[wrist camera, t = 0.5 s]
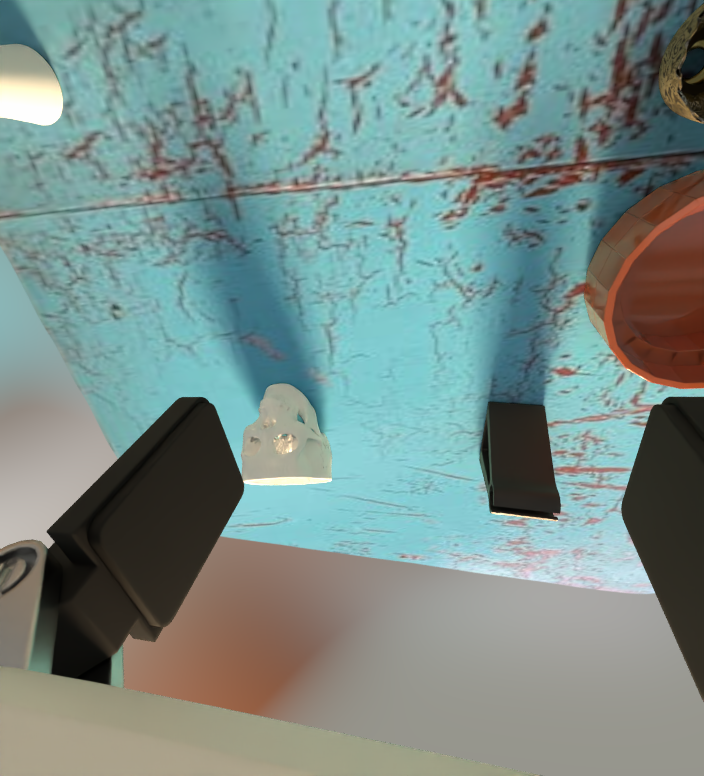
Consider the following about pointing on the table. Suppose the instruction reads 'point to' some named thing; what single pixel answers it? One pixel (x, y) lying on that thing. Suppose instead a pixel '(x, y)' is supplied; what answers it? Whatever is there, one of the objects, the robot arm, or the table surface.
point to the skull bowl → (285, 442)
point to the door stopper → (518, 462)
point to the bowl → (654, 285)
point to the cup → (682, 95)
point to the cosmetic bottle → (28, 86)
